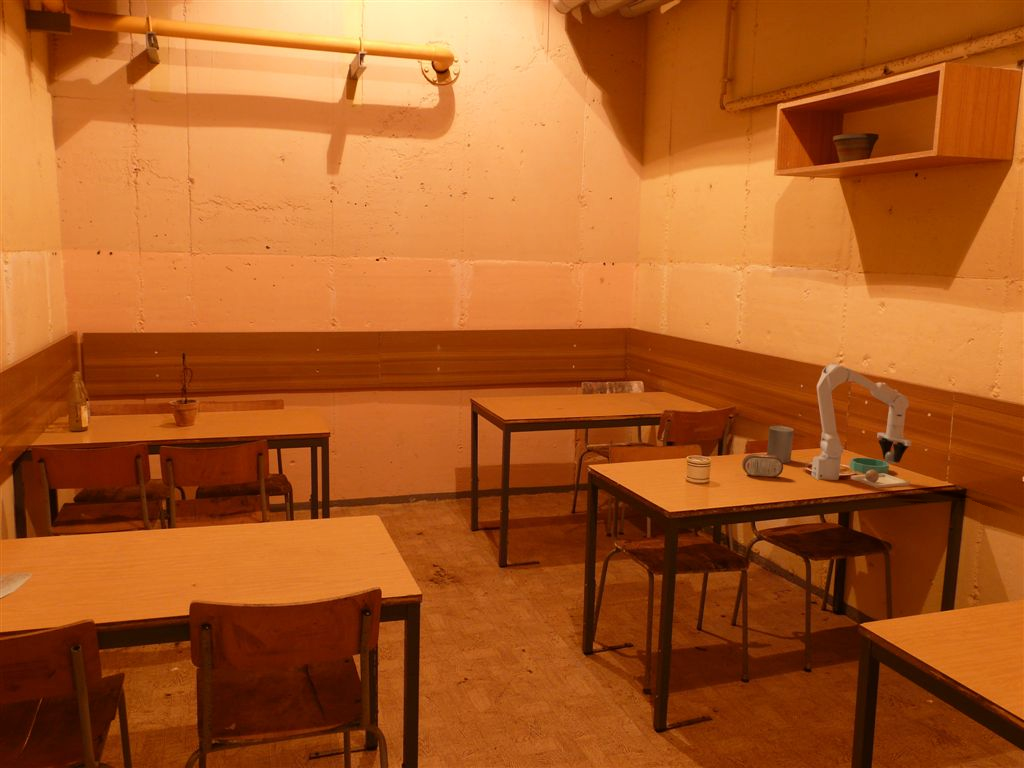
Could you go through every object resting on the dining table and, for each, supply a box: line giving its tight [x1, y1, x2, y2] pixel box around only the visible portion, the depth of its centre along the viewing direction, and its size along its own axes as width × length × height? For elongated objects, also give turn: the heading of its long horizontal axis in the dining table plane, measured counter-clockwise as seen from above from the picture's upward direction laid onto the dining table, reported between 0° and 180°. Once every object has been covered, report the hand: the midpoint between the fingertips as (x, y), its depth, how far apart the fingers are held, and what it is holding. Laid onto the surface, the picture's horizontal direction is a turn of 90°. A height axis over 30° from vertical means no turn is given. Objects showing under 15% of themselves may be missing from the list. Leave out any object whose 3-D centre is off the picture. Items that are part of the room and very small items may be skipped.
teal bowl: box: [849, 457, 890, 475], centre depth 328 cm, size 14×14×4 cm
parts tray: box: [850, 473, 911, 489], centre depth 310 cm, size 16×13×2 cm
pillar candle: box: [766, 424, 795, 464], centre depth 340 cm, size 10×10×15 cm
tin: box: [741, 453, 784, 478], centre depth 314 cm, size 15×3×8 cm, turn 84°
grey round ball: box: [884, 450, 896, 464], centre depth 310 cm, size 5×5×5 cm
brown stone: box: [864, 470, 879, 483], centre depth 309 cm, size 5×5×5 cm
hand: (891, 460), depth 311 cm, fingers closed on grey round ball, 5 cm apart
